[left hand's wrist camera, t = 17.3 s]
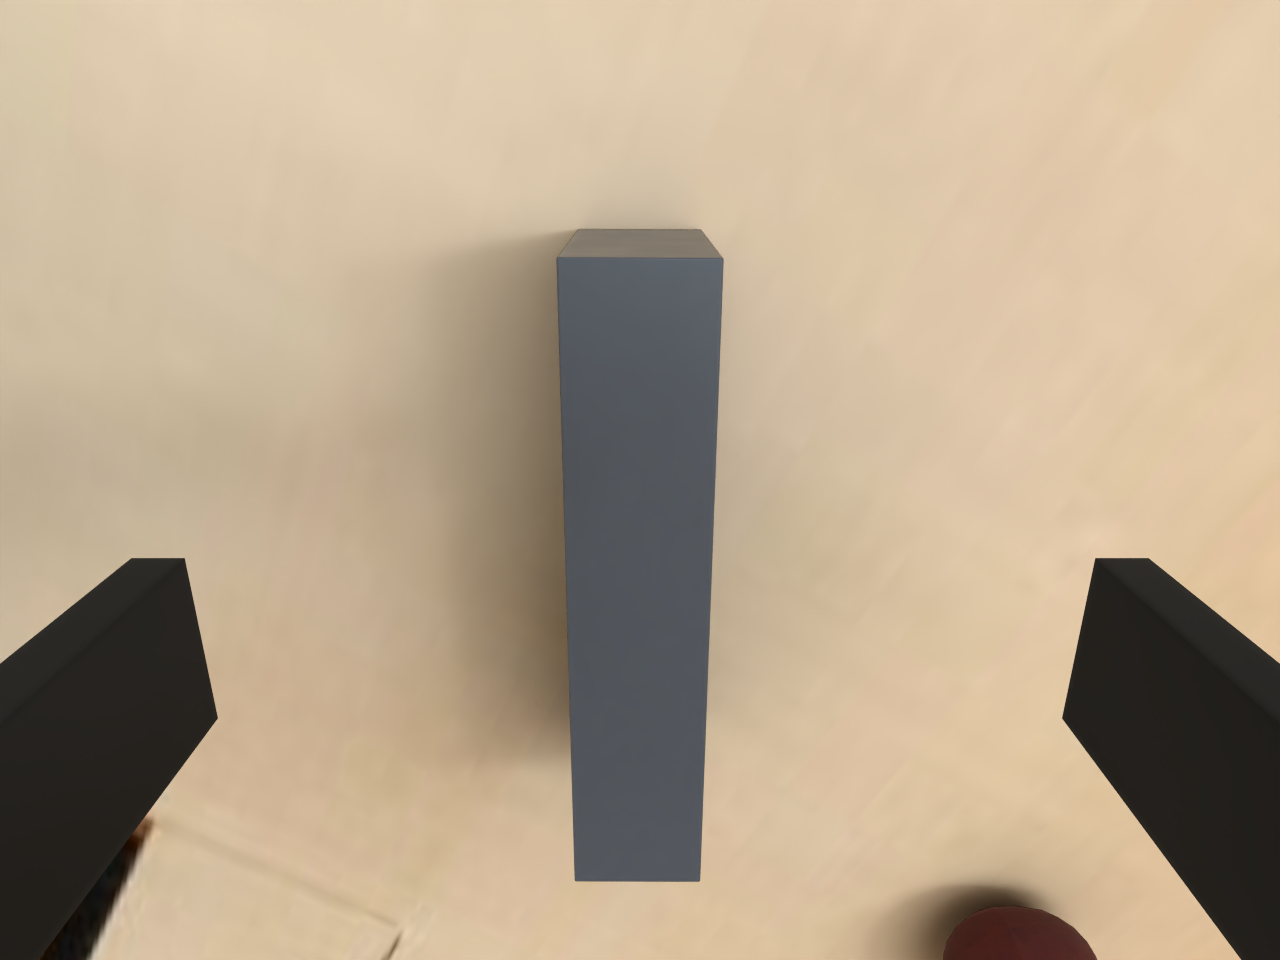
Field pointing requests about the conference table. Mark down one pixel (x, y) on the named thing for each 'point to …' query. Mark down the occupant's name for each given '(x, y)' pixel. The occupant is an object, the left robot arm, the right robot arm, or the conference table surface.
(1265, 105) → the conference table surface
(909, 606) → the conference table surface
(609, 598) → the bar
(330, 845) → the conference table surface
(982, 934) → the dark maroon ball
